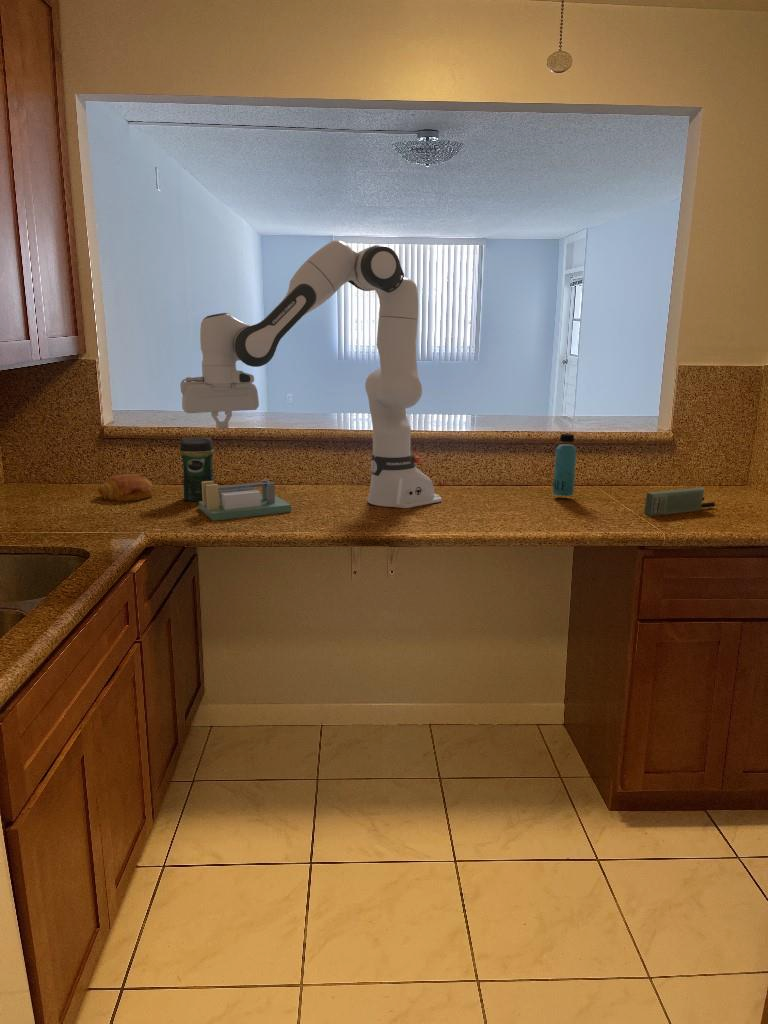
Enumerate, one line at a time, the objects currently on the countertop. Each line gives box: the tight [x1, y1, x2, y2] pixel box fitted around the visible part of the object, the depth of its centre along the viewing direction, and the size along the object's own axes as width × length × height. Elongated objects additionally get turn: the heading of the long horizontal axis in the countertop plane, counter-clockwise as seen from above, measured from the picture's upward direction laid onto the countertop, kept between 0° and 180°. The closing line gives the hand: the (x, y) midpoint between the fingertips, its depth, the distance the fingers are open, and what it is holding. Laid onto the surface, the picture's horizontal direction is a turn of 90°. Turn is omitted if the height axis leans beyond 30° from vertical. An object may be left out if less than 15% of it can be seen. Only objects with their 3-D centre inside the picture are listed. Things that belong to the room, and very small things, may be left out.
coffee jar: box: [179, 436, 216, 502], centre depth 205 cm, size 10×8×19 cm
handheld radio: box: [643, 486, 716, 517], centre depth 199 cm, size 7×3×25 cm
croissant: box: [98, 473, 154, 503], centre depth 209 cm, size 14×16×8 cm
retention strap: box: [218, 479, 272, 490], centre depth 193 cm, size 18×3×2 cm, turn 118°
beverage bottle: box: [552, 433, 578, 497], centre depth 211 cm, size 6×7×20 cm
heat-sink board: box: [198, 479, 292, 522], centre depth 194 cm, size 22×15×9 cm
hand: (222, 428), depth 188 cm, fingers closed
